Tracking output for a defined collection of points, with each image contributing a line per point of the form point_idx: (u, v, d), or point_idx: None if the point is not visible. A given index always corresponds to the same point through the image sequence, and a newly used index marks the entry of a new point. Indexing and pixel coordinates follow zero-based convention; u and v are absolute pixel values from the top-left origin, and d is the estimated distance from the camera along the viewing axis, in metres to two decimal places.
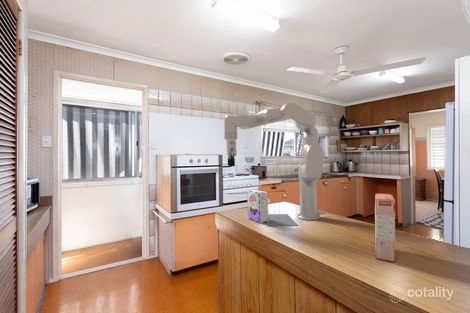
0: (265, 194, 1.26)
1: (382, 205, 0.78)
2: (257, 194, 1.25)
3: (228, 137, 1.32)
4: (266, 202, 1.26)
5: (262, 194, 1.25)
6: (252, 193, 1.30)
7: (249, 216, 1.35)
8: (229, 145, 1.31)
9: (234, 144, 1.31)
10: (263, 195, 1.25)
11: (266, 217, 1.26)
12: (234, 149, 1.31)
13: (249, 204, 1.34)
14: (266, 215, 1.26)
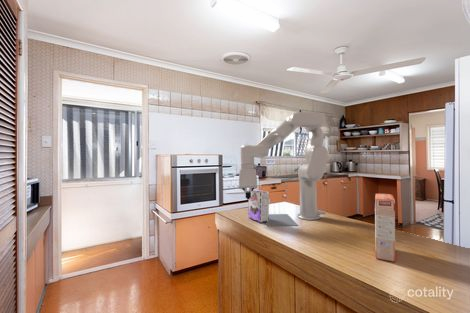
0: (267, 193, 1.27)
1: (382, 205, 0.78)
2: (259, 193, 1.26)
3: (253, 168, 1.30)
4: (267, 202, 1.27)
5: (264, 193, 1.26)
6: (253, 192, 1.31)
7: (249, 215, 1.35)
8: (256, 176, 1.30)
9: None
10: (265, 194, 1.26)
11: (266, 217, 1.26)
12: None
13: (250, 203, 1.35)
14: (266, 215, 1.26)
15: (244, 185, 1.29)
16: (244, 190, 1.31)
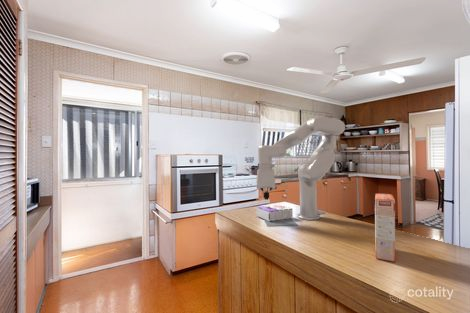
0: (291, 216, 1.33)
1: (382, 205, 0.78)
2: (290, 208, 1.34)
3: (271, 168, 1.30)
4: (284, 217, 1.31)
5: (291, 212, 1.33)
6: (284, 206, 1.39)
7: (259, 207, 1.38)
8: (274, 176, 1.30)
9: None
10: (290, 214, 1.33)
11: (272, 218, 1.27)
12: None
13: (270, 206, 1.40)
14: (274, 218, 1.28)
15: (262, 185, 1.30)
16: (262, 190, 1.31)
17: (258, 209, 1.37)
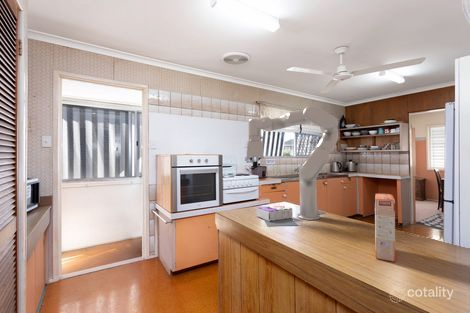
0: (291, 215, 1.33)
1: (382, 205, 0.78)
2: None
3: (260, 139, 1.42)
4: (284, 217, 1.31)
5: (291, 212, 1.33)
6: (284, 206, 1.39)
7: (259, 207, 1.38)
8: (262, 147, 1.42)
9: None
10: (290, 213, 1.33)
11: (272, 218, 1.28)
12: None
13: (270, 206, 1.40)
14: (274, 218, 1.28)
15: (251, 155, 1.42)
16: (251, 160, 1.43)
17: (258, 209, 1.37)
